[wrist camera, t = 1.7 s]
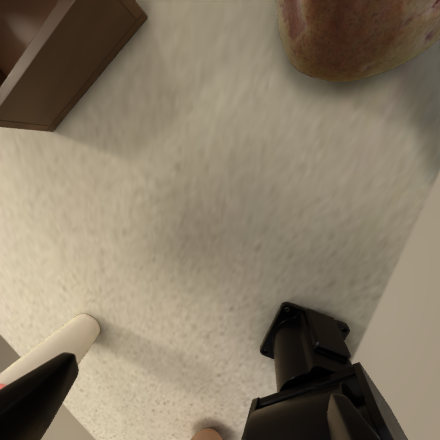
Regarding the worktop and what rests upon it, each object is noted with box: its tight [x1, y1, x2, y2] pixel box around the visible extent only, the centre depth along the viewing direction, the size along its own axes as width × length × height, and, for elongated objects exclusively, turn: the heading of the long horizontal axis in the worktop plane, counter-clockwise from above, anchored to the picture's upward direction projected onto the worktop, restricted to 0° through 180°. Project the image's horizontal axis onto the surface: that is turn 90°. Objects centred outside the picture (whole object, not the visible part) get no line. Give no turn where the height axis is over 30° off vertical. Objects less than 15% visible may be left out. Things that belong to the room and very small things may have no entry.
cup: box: [0, 314, 100, 389], centre depth 21 cm, size 5×5×12 cm
